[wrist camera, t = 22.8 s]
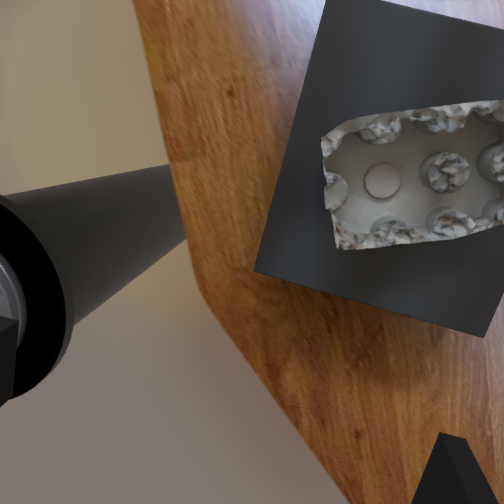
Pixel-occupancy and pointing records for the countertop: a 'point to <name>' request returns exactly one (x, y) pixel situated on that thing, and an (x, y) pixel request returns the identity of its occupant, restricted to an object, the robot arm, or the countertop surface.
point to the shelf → (374, 102)
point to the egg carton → (415, 175)
